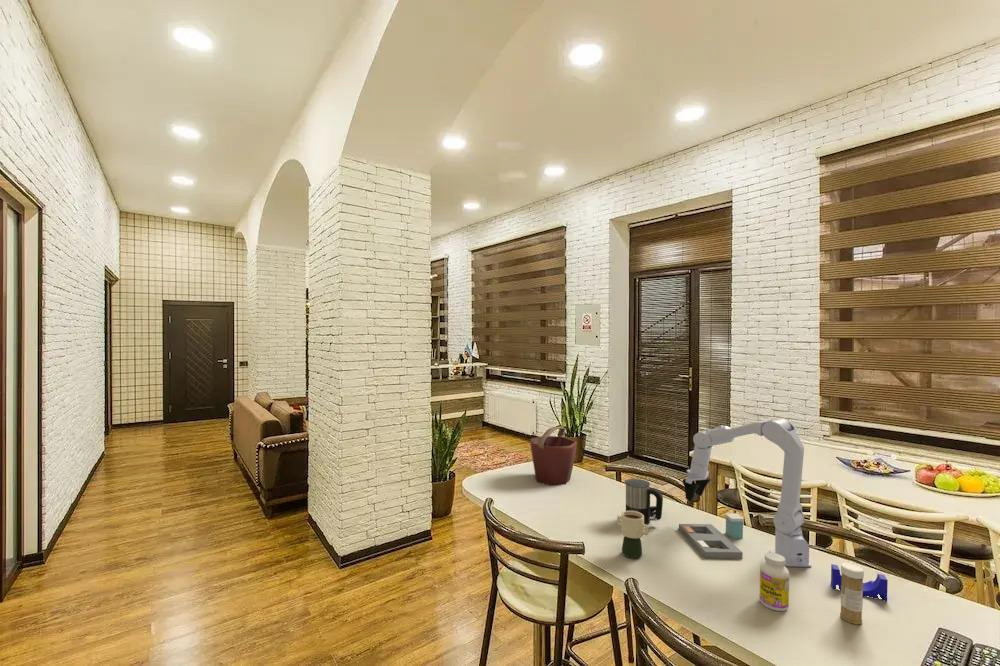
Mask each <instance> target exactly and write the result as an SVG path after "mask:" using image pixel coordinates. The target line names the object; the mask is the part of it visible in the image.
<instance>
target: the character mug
mask: <svg viewBox="0 0 1000 666" xmlns="http://www.w3.org/2000/svg"><path fill="white" fill-rule="evenodd" d="M620 514H621V515H617V518H616V519H617V521H616V523H617V526H618V527H620V532H621V534H622V535H623V536H624V537H623V541H622V547H621V552H622V554H623V556H625V557H627V558H639V557H641V556H643V548H642V540H641V538H642V537H643V536H649V529H650V528H649V524H648V525H645V524H644V515H643V514H641V513H639V512H636V511H626V510H624V511H622V512H621V513H620Z"/></svg>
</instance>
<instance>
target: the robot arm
mask: <svg viewBox="0 0 1000 666" xmlns="http://www.w3.org/2000/svg"><path fill="white" fill-rule="evenodd" d="M753 434H756V435H758V436H759V437H762V436H763V437H764V438H765V439H766V440H768V441H769V442H771V443H773V444H775V445H777V446H778V447H779V448H780V449H781V450H782V451H783V453H784V455H783V456H784V457H783V466H782V467H783V468H782V478H781V479H782V480H781V491H780V501H779V503H778V506H777V509H776V513H775V514H774V516H772V517H773V518H772V522H773V525H774V528H775V531H774V532H775V533H774V536H775V538H774V540H775V541H774V544H775V545H774V547H775V548H774V550H771V549H770V550H768V553H776V554H779V555H781V556H783V557H784V558H785V565H784V566H785V567H798V568H799V567H803V568H804V567H805V568H807V567H808V568H809V567H810V568H811V567H812V564H811V563H810V545H809V543H808V541H806V539H805V538H804V535H803V531H802V530H803V529H802V527H801V526H803V524H804V522H805V515H804V513H803V505H802V503H801V502H800V501H801V490H802V489H801V488H802V480H803V479H802V478H803V466H804V455H805V454H804V453H805V446H804V444H803V442H802V441H801V440H802V439H800V436H799V434H798V433H797V429H796V426H795V425H794V424H792V423H791V422H790V421H789V420H787V419H786V418H783V417H782V418H779V417H778V418H776V419H764V420H759V421H757V420H756V421H754V422H750V423H747V424H743V425H740V426H736V427H730V426H728V425H723V424H720V425H718V426H717V427H716V428H711V429H710V428H707V429H705V430H703V431H699V432H697V433H695V434H694V435H693V437H692V439H693V440H692V441H693V444H694V447H693V451H692V452H693V453H692V457H691V463H690V469H687V470H686V473H688V474H687V476H686V477H685V478H683V479H682V484H683V486H684V487H683V488H684V491H685V492H684V493H685V495H684V496H685V499H686V500H688V501H690V502H692V501H693V499H694V498H695V495H697V496H699V497H701V496H702V495H703V494H704V491H705V489H706V487H707V486H708V485H709V483H710V482H711V481H712V479H711V478H709V473H710V471H709V465H710V464H709V463H710V458H711V454H712V448H713V446H718V445H719V446H720V445H723V444H727V443H732V442H734V440H735V438H736V437H741V436H746V435H747V436H748V435H753Z"/></svg>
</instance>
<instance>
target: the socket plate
mask: <svg viewBox="0 0 1000 666" xmlns="http://www.w3.org/2000/svg"><path fill="white" fill-rule="evenodd" d="M678 530H679V532H680V533H681V534H682V535H683V534H684V535H685V536H684V535H683V536H684V537H685V538H686V539H687V541H689V542H690V544H692V546H693V547H694V548H695V549H696V550H697V551H698V552H699V553H700V555H702V557H704V559H738V558H742V559H743V557H744V556H743V551H742V550H740V548H738V546H737V545H735V544H734V542H732V541H731V540H729V538H727V536H725V535H724V534H723V533H722V532H721V531H720V530H718V528H716V527H715V526H714V525H713V524H712V523H711V524H708V523H705V524H704V523H698V524H697V523H678ZM718 546H721V548H711V547H718Z"/></svg>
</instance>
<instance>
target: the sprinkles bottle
mask: <svg viewBox="0 0 1000 666" xmlns="http://www.w3.org/2000/svg"><path fill="white" fill-rule="evenodd" d="M864 571H865V570H864V569H863V568H862V567H861V566H859V565H857V564H854V563H848V562H842V563H841V564H840V574H841V576H842V585H841V591H840V615H839V616H840V618H841V619H843V620H844V621H845V622H848V623H849V624H852V623H853V625H861V624H863V619H862V618H863V616H862V615H863V614H862V613H863V605H864V604H863V601H864V600H863V597H864V596H863V583H864V582H863V581H864V578H865V572H864Z"/></svg>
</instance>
